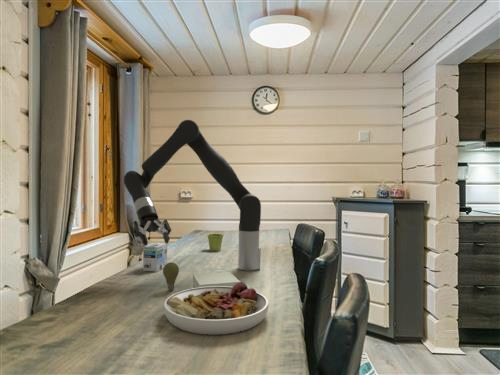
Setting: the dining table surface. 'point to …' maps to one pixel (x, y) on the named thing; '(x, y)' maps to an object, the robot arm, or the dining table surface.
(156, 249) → the light bulb box
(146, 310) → the dining table surface
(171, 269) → the light bulb
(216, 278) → the block
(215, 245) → the plant pot
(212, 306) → the bowl
